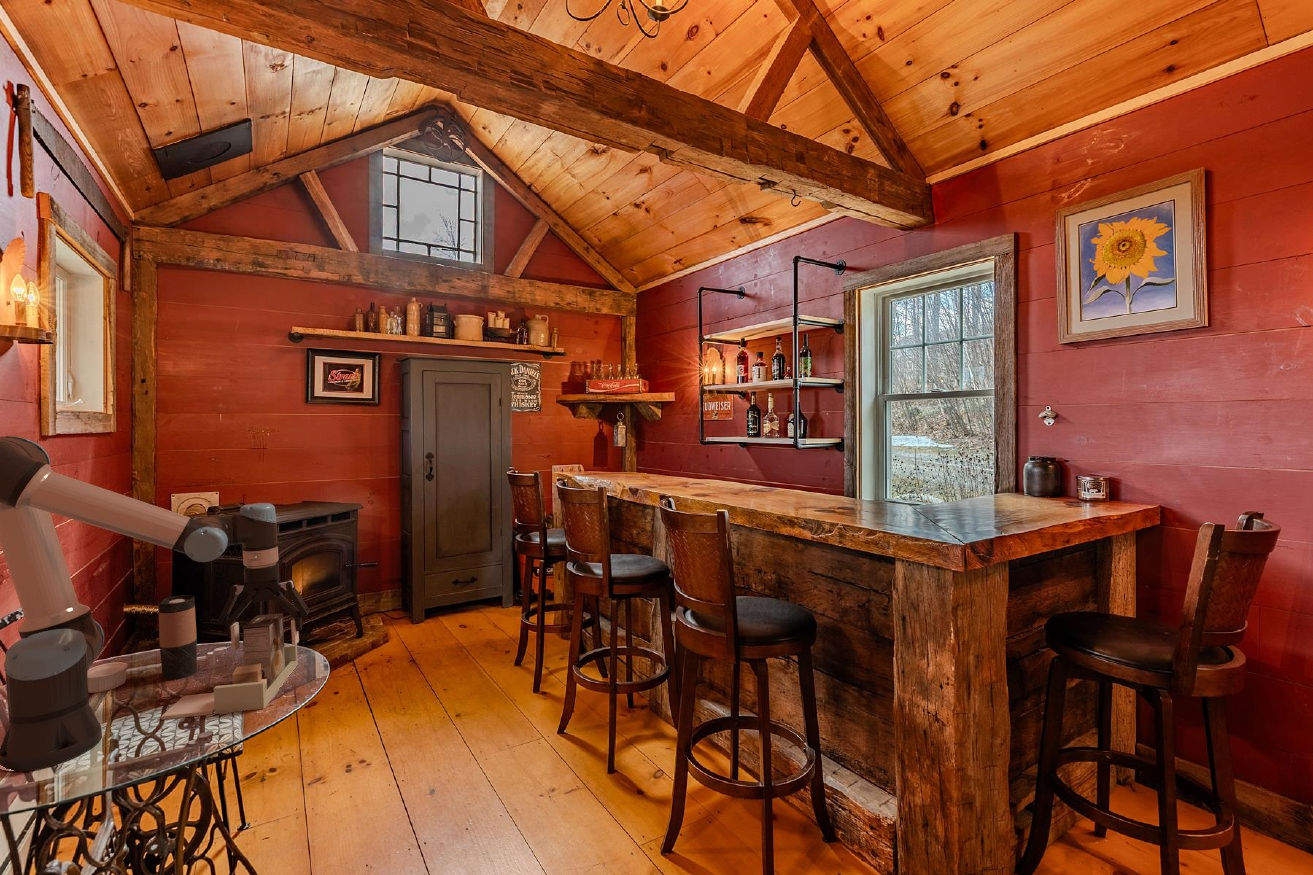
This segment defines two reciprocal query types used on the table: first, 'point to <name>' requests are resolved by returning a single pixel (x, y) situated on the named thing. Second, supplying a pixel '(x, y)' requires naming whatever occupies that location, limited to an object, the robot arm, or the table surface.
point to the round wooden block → (106, 677)
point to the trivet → (191, 706)
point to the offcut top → (247, 674)
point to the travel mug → (177, 637)
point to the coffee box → (265, 645)
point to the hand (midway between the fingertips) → (266, 646)
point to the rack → (253, 689)
